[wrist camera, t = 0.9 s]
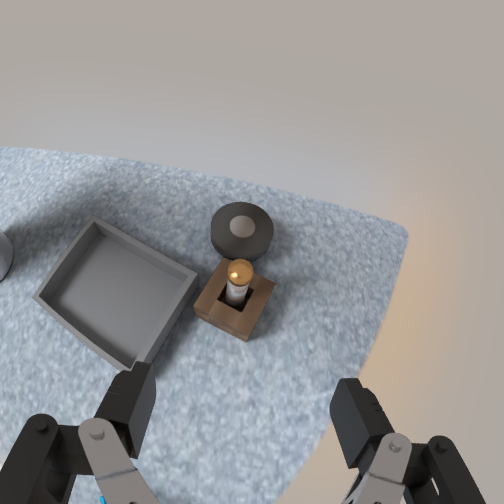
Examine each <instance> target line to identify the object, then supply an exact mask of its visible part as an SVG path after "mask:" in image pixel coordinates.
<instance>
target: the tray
mask: <svg viewBox="0 0 504 504" xmlns="http://www.w3.org/2000/svg"><path fill="white" fill-rule="evenodd" d="M198 286H199V282H198V273H196V272H194V271H192V270H190V269H188V268H187V267H185V266H183V265H181V264H179V263H177V262H176V261H174V260H172V259H170V258H168V257H166V256H165V255H163V254H161V253H159V252H157V251H156V250H154V249H152V248H150V247H148V246H147V245H145V244H143V243H141V242H139V241H138V240H136V239H134V238H132V237H131V236H129V235H127V234H125V233H124V232H122V231H120V230H119V229H117V228H115V227H113V226H112V225H110V224H108V223H107V222H105V221H103V220H101V219H100V218H98V217H96V216H95V215H93V217H92V218H91V219H90V220H89V221H88V222H87V224H86V225H85V226H84V227H83V228H82V230H81V231H80V232H79V233H78V235H77V236H76V237H75V238H74V240H73V241H72V242H71V244H70V245H69V246H68V247H67V249H66V250H65V251H64V253H63V254H62V255H61V257H60V258H59V259H58V261H57V262H56V263H55V265H54V266H53V268H52V269H51V270H50V272H49V273H48V275H47V276H46V278H45V279H44V280H43V282H42V283H41V285H40V286H39V288H38V289H37V291H36V292H35V294H34V296H33V297H32V298H33V299H34V300H35V301H36V302H37V303H38V304H39V305H40V306H41V307H42V308H43V309H44V310H45V311H47V312H48V313H49V314H50V315H51V316H52V317H53V318H54V319H55V320H56V321H58V322H59V323H60V324H61V325H62V326H63V327H64V328H66V329H67V330H68V331H69V332H70V333H71V334H73V335H74V336H75V337H76V338H77V339H79V340H80V341H81V342H82V343H84V344H85V345H86V346H87V347H89V348H90V349H91V350H92V351H94V352H95V353H96V354H98V355H99V356H100V357H102V358H103V359H104V360H106V361H107V362H108V363H110V364H111V365H113V366H114V367H115V368H117V369H118V370H120V371H123V370H127V371H131V370H132V368H133V366H134V364H135V362H136V361H141V362H146V363H152V361H153V359H154V358H155V356H156V354H157V353H158V351H159V349H160V348H161V346H162V344H163V343H164V341H165V339H166V338H167V336H168V334H169V333H170V331H171V329H172V328H173V326H174V324H175V323H176V321H177V320H178V318H179V316H180V315H181V313H182V311H183V310H184V308H185V307H186V305H187V303H188V302H189V300H190V298H191V297H192V295H193V294H194V292H195V290H196V289H197V287H198Z"/></svg>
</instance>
